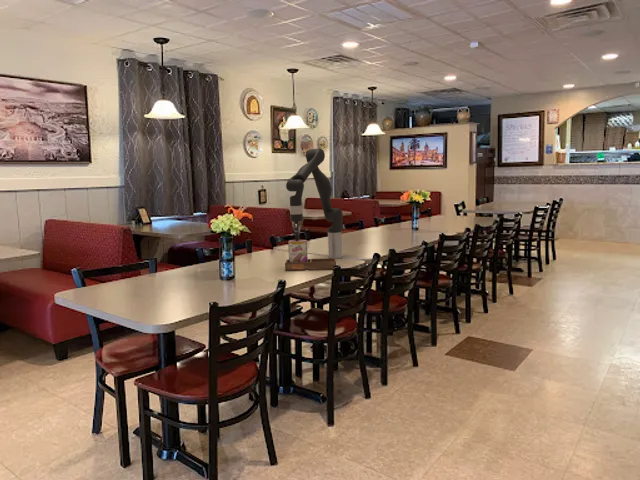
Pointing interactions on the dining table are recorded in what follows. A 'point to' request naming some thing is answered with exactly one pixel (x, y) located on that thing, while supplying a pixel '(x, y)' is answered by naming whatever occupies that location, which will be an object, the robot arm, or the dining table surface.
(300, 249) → the candy bar box
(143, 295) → the dining table surface
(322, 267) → the organiser rack
